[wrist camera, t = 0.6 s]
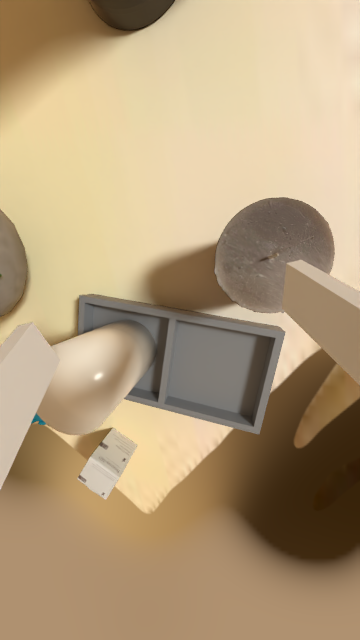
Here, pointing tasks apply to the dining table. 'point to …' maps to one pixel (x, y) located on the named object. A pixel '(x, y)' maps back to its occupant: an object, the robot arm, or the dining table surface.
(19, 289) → the flower arrangement
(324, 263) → the pillar candle
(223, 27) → the dining table surface
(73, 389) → the white candle
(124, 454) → the skincare box
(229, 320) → the tray
